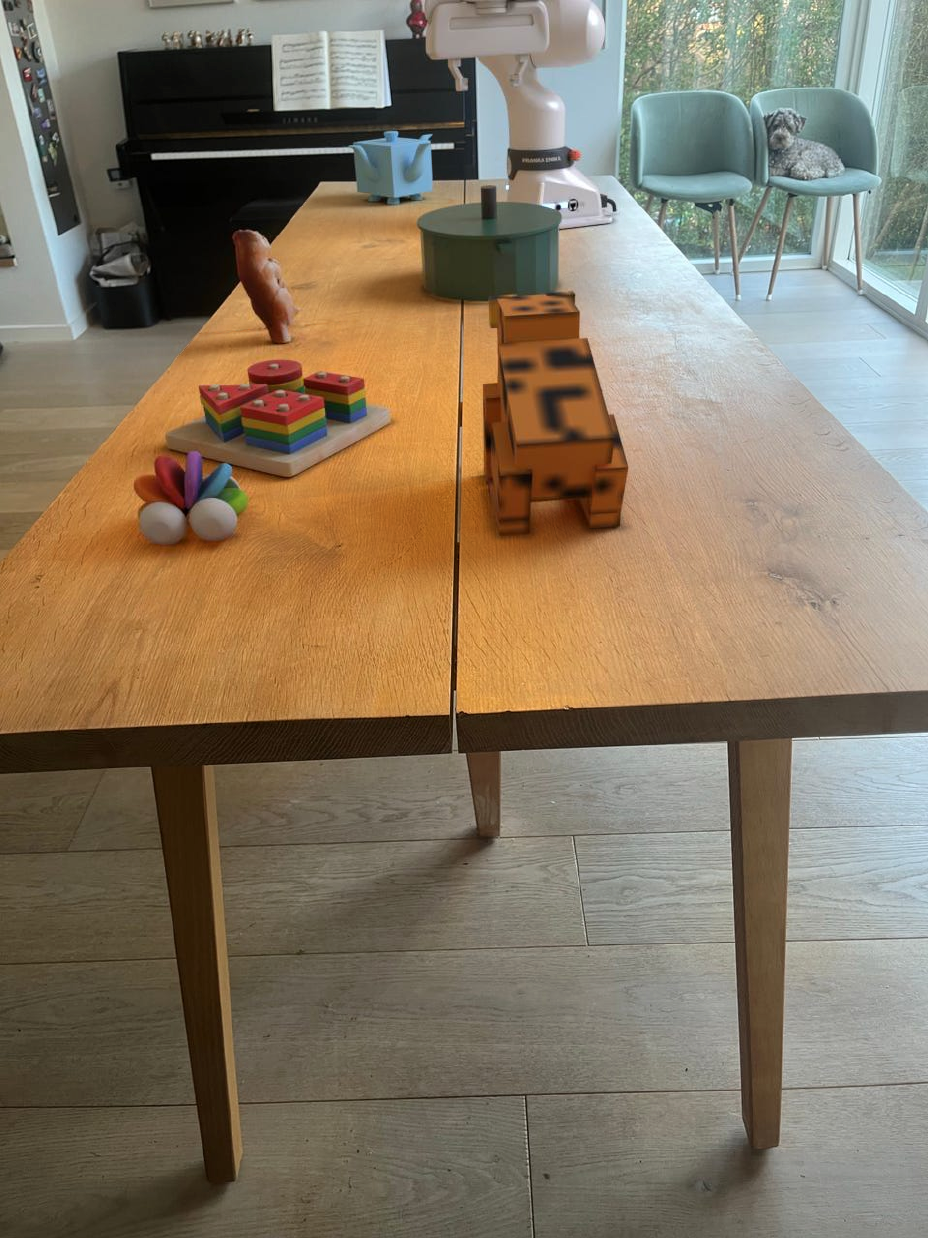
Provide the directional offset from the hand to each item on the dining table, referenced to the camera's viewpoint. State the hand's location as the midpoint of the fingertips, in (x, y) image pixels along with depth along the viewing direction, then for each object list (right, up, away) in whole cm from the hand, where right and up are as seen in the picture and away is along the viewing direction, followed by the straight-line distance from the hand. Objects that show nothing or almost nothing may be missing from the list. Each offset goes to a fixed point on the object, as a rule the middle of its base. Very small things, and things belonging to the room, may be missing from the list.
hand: (488, 88), depth 161 cm
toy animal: (+4, -75, -69) cm, 102 cm away
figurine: (-31, -48, -22) cm, 61 cm away
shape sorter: (-24, -67, -53) cm, 89 cm away
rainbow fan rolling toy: (-28, -79, -72) cm, 110 cm away
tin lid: (0, -24, -7) cm, 25 cm away
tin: (0, -33, -1) cm, 33 cm away
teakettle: (-20, +13, +74) cm, 77 cm away
